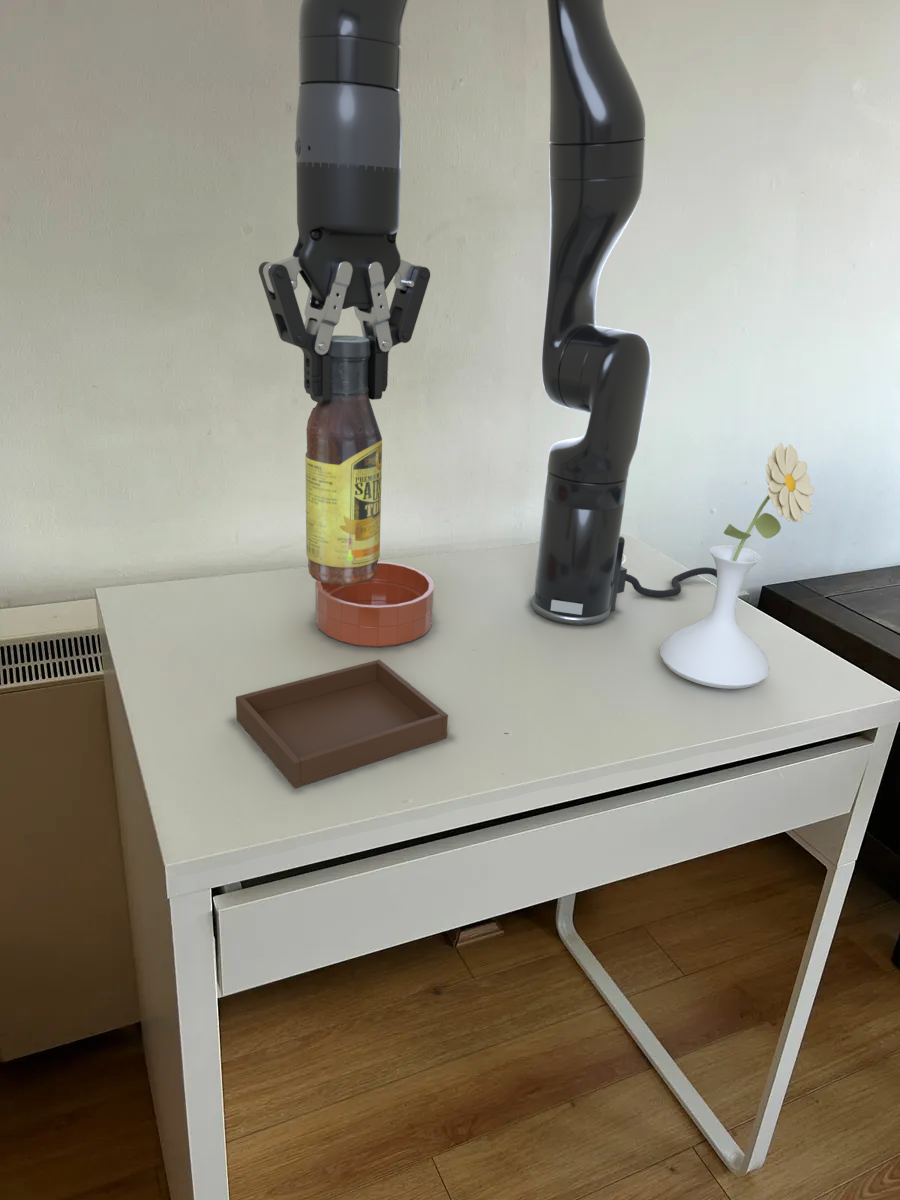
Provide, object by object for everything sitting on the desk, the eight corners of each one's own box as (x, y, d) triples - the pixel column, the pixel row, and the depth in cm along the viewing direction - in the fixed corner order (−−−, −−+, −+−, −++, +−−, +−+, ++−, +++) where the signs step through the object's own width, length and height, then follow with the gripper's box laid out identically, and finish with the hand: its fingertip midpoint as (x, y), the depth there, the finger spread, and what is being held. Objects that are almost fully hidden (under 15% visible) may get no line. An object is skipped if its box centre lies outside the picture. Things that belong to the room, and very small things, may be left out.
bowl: (393, 591, 112) (394, 554, 110) (454, 633, 102) (456, 593, 100) (296, 612, 105) (295, 573, 103) (351, 659, 95) (352, 616, 93)
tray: (378, 680, 91) (379, 658, 90) (446, 738, 82) (448, 714, 81) (236, 719, 83) (235, 696, 82) (294, 788, 74) (294, 763, 73)
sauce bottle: (367, 593, 75) (370, 347, 66) (296, 584, 76) (289, 340, 67) (388, 564, 80) (393, 335, 72) (321, 556, 81) (318, 329, 73)
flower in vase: (699, 706, 90) (747, 463, 80) (637, 655, 100) (673, 432, 89) (802, 688, 95) (859, 457, 85) (733, 641, 104) (777, 428, 94)
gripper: (279, 153, 58) (284, 416, 65) (459, 168, 66) (446, 403, 73) (234, 153, 64) (243, 396, 71) (405, 167, 71) (398, 385, 78)
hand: (346, 398), depth 72 cm, fingers closed on sauce bottle, 4 cm apart
